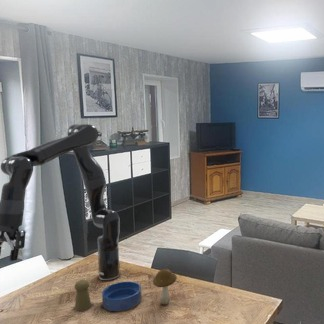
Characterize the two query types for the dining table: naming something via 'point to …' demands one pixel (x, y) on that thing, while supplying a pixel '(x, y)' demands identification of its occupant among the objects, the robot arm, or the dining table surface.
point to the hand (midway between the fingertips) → (4, 258)
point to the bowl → (121, 296)
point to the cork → (82, 296)
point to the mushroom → (164, 283)
